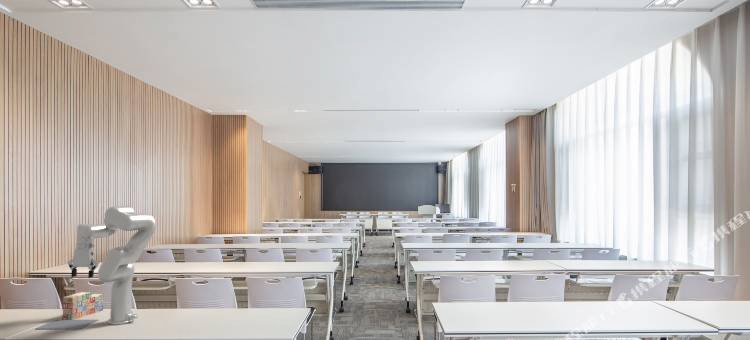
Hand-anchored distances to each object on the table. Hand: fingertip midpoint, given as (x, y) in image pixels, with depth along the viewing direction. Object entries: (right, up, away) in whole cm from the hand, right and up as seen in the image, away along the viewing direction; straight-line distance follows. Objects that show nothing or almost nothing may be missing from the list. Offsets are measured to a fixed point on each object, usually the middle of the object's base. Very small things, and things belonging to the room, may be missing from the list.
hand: (82, 277), depth 253 cm
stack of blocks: (0, -22, +1) cm, 22 cm away
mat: (+5, -20, -19) cm, 28 cm away
